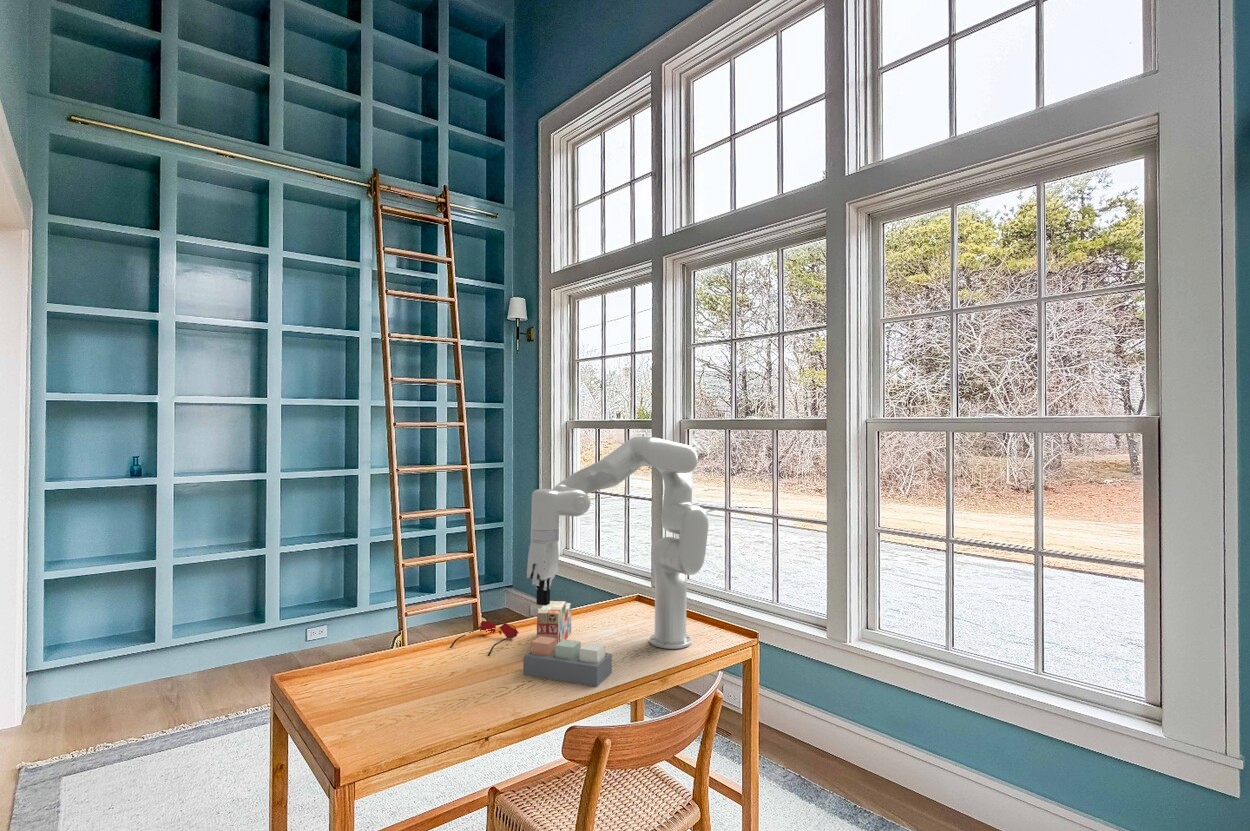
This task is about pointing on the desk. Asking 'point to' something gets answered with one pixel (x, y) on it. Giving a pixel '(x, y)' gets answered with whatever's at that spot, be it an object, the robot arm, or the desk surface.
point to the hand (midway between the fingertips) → (543, 604)
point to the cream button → (592, 653)
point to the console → (567, 669)
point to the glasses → (505, 628)
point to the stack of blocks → (554, 620)
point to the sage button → (567, 649)
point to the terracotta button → (544, 646)
